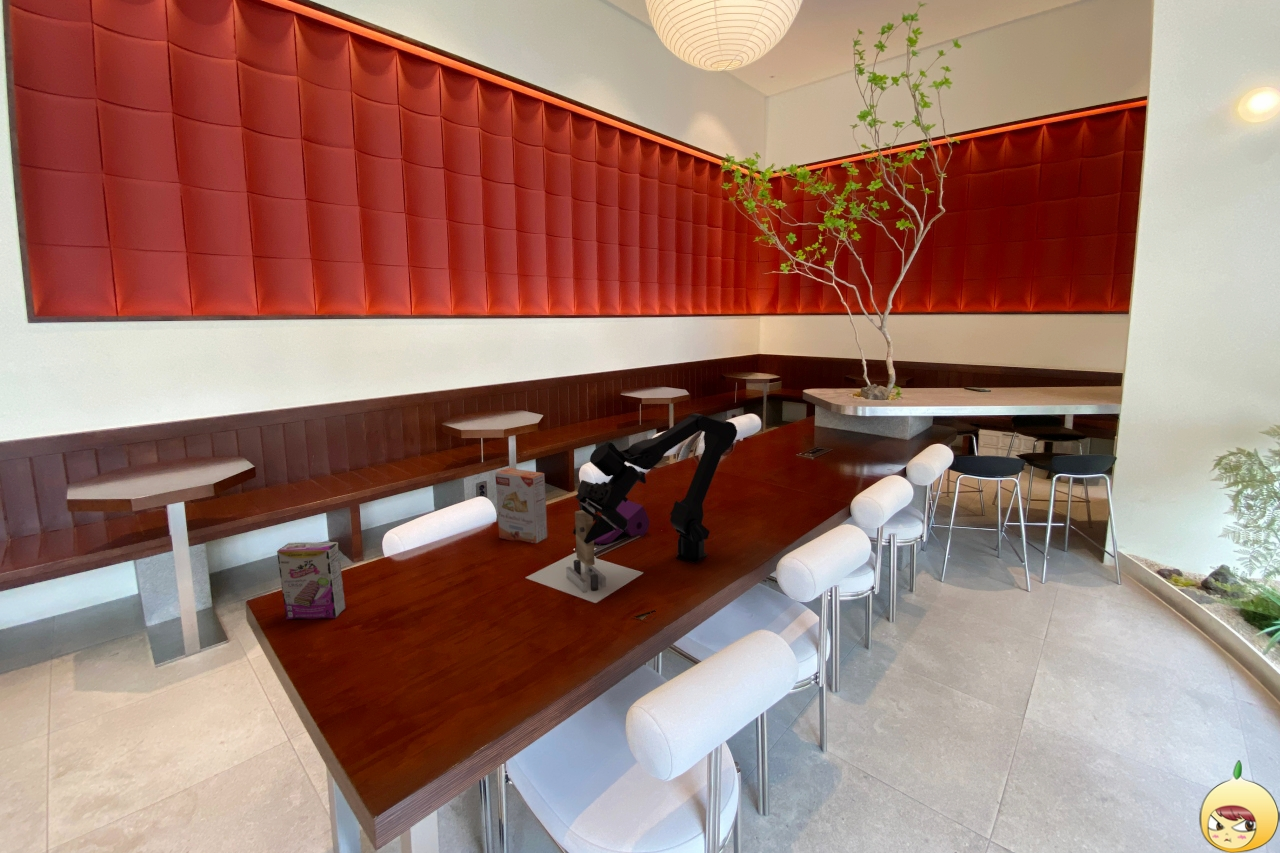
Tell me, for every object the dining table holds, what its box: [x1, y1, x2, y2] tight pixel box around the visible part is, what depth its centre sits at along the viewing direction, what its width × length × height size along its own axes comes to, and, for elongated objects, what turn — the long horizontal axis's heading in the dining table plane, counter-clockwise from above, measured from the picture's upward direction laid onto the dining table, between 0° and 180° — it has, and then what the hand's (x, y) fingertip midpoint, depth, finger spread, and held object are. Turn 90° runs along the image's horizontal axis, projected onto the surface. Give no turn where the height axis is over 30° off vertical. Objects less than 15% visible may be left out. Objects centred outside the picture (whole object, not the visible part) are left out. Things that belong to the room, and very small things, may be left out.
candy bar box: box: [276, 541, 346, 620], centre depth 129 cm, size 11×5×16 cm, turn 92°
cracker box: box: [495, 467, 548, 544], centre depth 170 cm, size 14×6×21 cm, turn 62°
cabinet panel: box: [525, 551, 644, 604], centre depth 146 cm, size 23×19×1 cm
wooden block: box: [574, 510, 595, 566], centre depth 140 cm, size 3×6×12 cm, turn 30°
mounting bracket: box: [594, 499, 650, 545], centre depth 173 cm, size 10×8×18 cm
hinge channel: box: [566, 560, 606, 593], centre depth 142 cm, size 6×12×4 cm, turn 30°
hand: (579, 538), depth 139 cm, fingers closed on wooden block, 6 cm apart
